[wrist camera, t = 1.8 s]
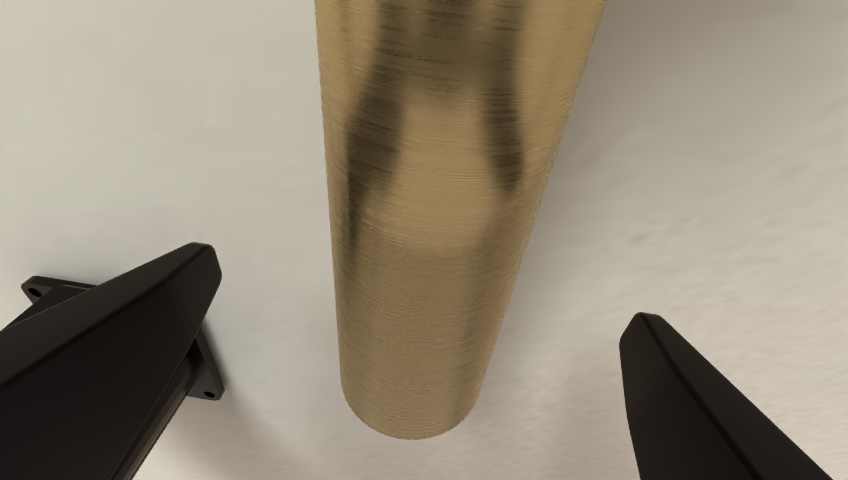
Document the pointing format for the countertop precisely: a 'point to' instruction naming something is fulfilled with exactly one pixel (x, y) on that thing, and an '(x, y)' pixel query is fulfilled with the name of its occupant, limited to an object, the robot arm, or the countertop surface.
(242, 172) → the countertop surface
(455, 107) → the tube
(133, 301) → the robot arm
